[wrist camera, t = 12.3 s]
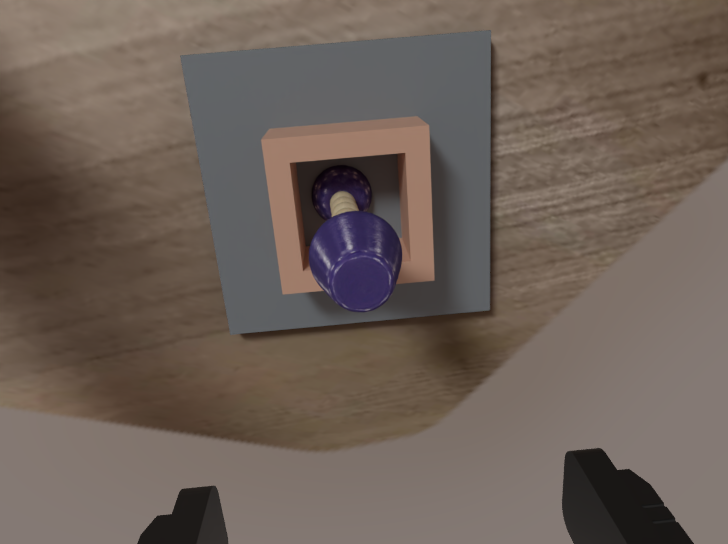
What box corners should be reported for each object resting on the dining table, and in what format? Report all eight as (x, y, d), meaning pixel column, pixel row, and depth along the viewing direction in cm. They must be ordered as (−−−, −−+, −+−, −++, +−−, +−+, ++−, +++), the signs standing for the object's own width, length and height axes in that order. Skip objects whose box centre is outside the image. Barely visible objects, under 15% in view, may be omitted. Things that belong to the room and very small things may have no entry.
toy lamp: (361, 149, 40) (382, 214, 24) (391, 208, 41) (429, 304, 26) (300, 182, 40) (282, 266, 25) (332, 238, 42) (334, 350, 26)
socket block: (185, 55, 38) (158, 56, 32) (485, 30, 39) (513, 27, 33) (233, 325, 45) (218, 368, 39) (485, 302, 46) (508, 340, 40)
